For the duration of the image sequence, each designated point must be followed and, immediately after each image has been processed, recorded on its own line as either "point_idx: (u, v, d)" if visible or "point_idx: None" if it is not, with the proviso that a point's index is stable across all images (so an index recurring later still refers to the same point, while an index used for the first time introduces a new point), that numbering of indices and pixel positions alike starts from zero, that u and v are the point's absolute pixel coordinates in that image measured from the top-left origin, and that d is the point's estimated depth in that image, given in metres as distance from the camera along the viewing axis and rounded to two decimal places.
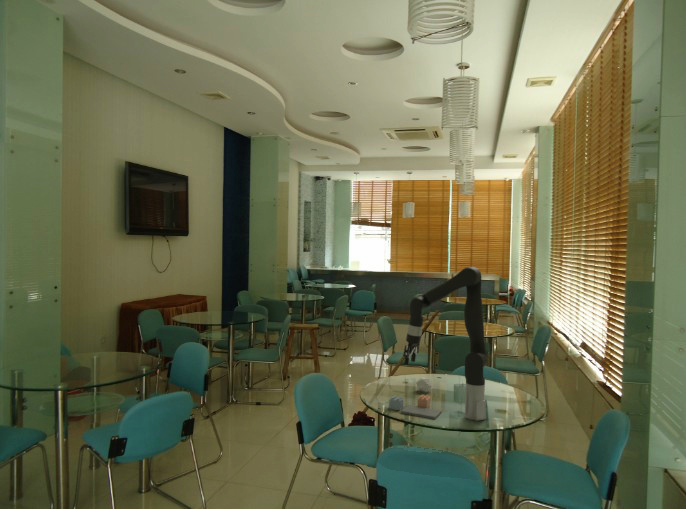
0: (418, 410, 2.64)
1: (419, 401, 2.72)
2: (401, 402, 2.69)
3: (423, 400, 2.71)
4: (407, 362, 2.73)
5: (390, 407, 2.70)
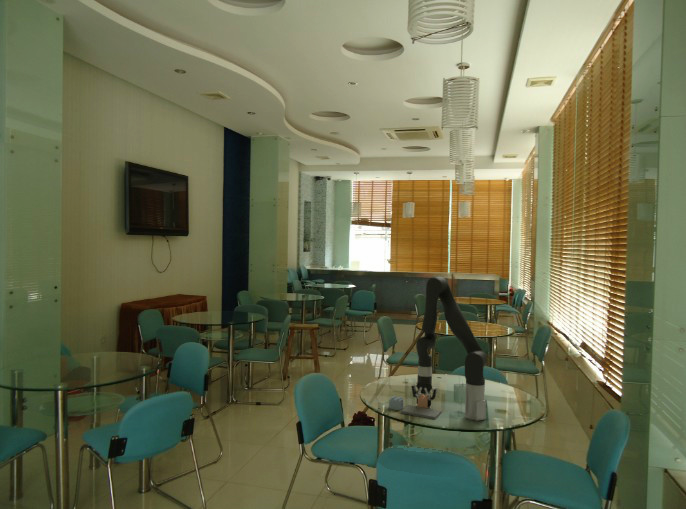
0: (418, 410, 2.64)
1: (419, 401, 2.72)
2: (401, 402, 2.69)
3: (423, 400, 2.71)
4: (417, 403, 2.75)
5: (390, 407, 2.70)
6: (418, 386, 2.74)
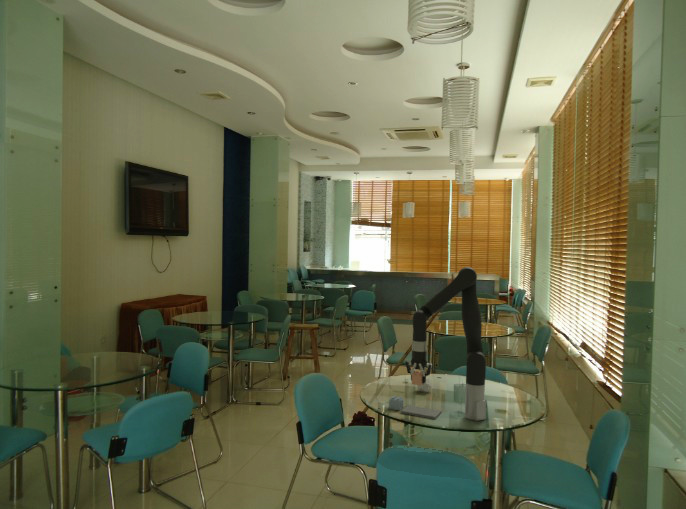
0: (418, 410, 2.64)
1: (413, 377, 2.63)
2: (401, 402, 2.69)
3: (417, 376, 2.62)
4: (411, 379, 2.65)
5: (390, 407, 2.70)
6: (412, 362, 2.65)
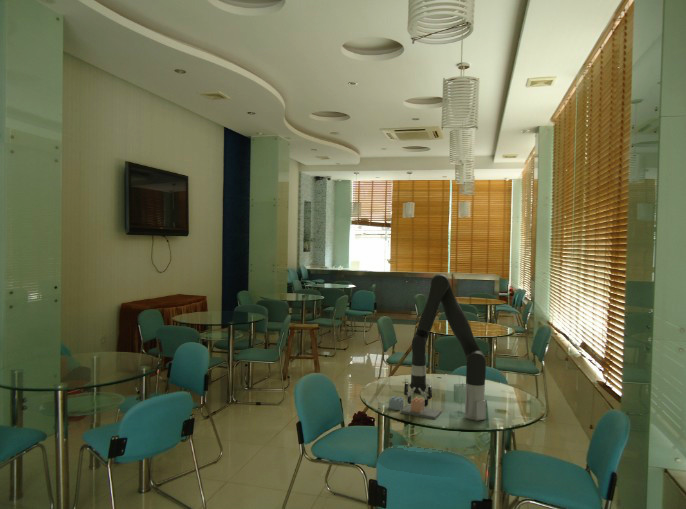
0: None
1: (412, 404, 2.63)
2: (401, 402, 2.69)
3: (416, 403, 2.62)
4: (408, 401, 2.66)
5: (390, 407, 2.70)
6: (412, 386, 2.65)
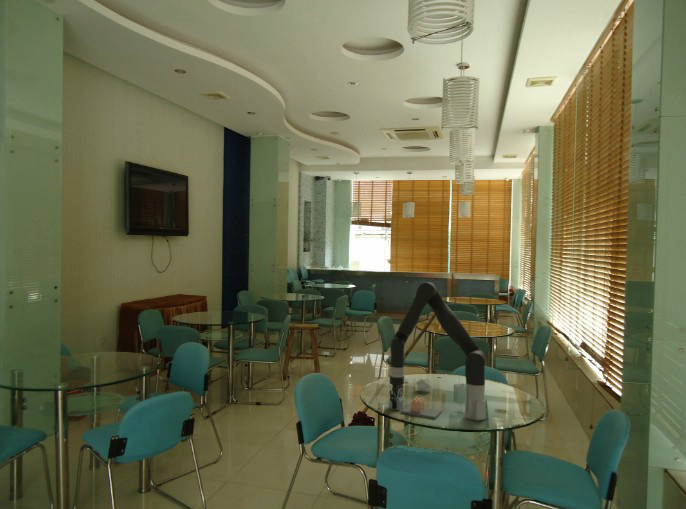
0: None
1: (412, 404, 2.63)
2: (401, 402, 2.69)
3: (416, 403, 2.62)
4: (395, 406, 2.68)
5: (390, 407, 2.70)
6: (396, 389, 2.68)
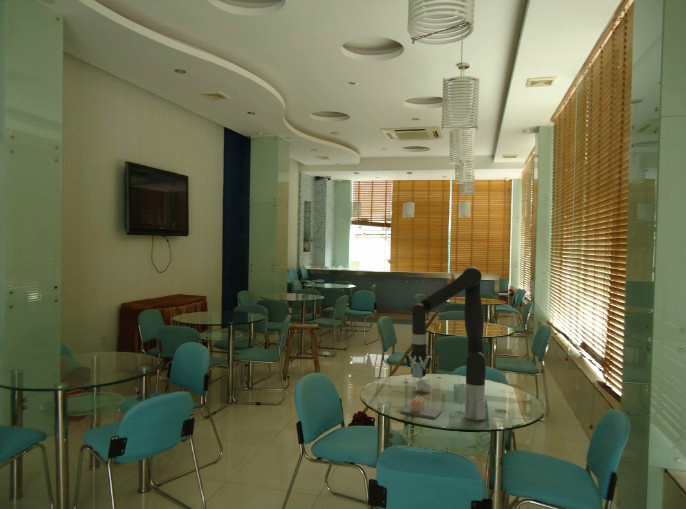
0: None
1: (412, 404, 2.63)
2: (416, 370, 2.62)
3: (416, 403, 2.62)
4: None
5: None
6: (412, 355, 2.65)
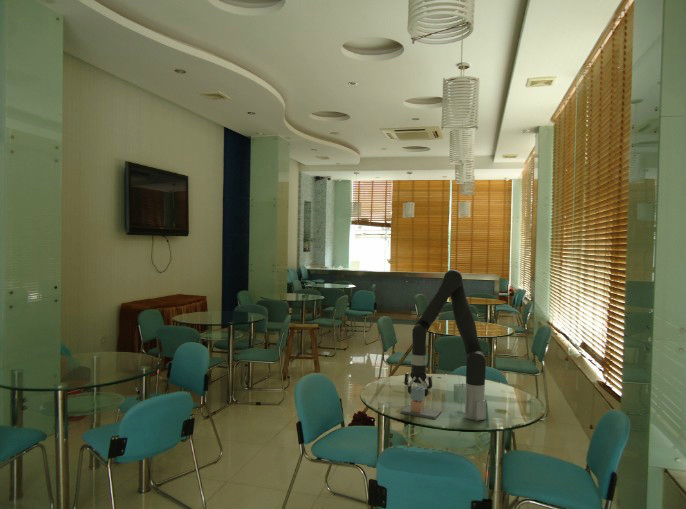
0: None
1: (412, 404, 2.63)
2: (415, 393, 2.62)
3: (416, 403, 2.62)
4: (408, 391, 2.66)
5: None
6: (412, 376, 2.65)
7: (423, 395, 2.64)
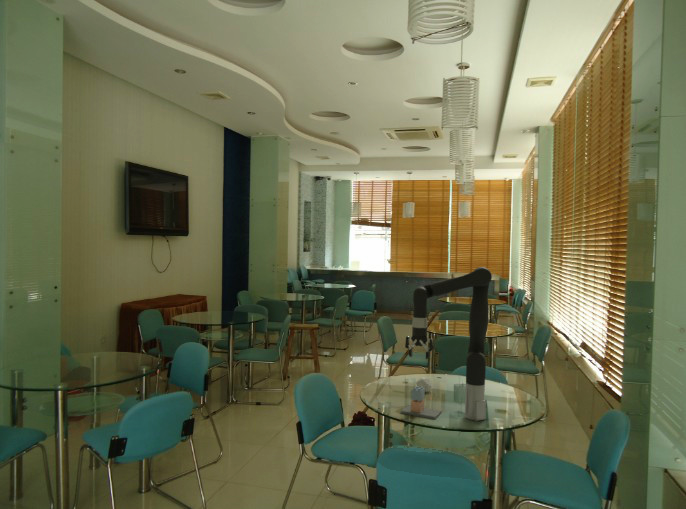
0: None
1: (412, 404, 2.63)
2: (415, 393, 2.62)
3: (416, 403, 2.62)
4: (409, 354, 2.65)
5: None
6: (413, 339, 2.64)
7: (423, 395, 2.64)
